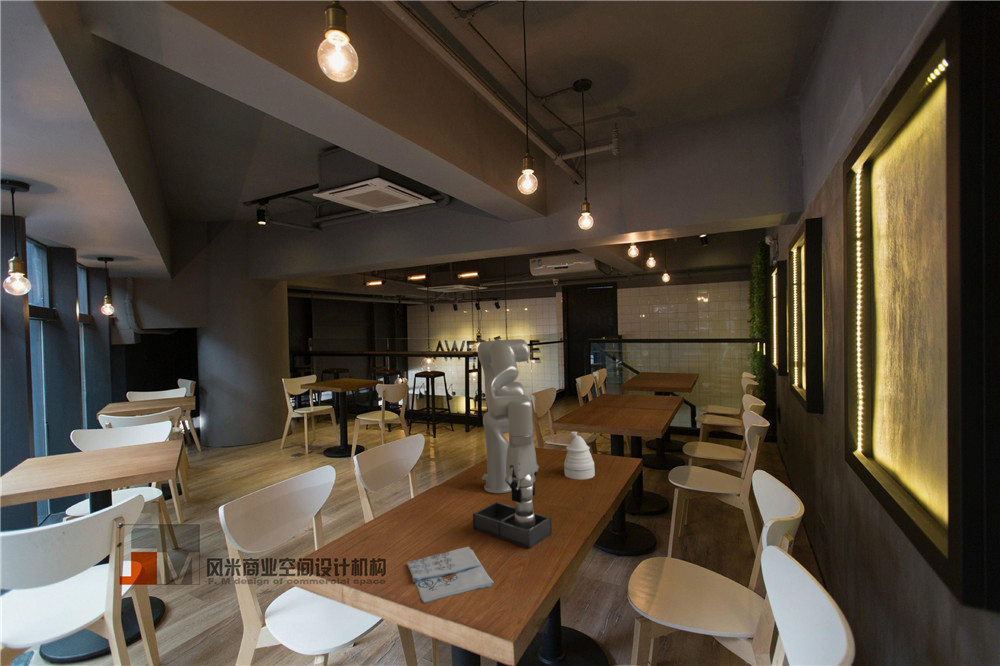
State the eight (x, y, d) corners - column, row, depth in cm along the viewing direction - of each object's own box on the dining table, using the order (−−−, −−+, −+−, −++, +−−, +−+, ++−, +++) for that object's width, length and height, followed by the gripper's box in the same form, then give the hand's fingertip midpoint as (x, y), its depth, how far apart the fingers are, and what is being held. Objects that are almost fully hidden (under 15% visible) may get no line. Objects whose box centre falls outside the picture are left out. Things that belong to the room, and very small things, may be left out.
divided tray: (473, 529, 142) (472, 513, 142) (497, 516, 151) (496, 501, 151) (529, 549, 127) (528, 531, 127) (551, 533, 136) (551, 517, 136)
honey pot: (558, 475, 190) (556, 433, 190) (575, 467, 199) (573, 428, 199) (584, 481, 181) (582, 437, 181) (600, 473, 191) (598, 431, 191)
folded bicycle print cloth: (472, 551, 128) (471, 544, 128) (495, 588, 109) (495, 580, 109) (406, 566, 122) (405, 558, 122) (418, 608, 103) (418, 599, 103)
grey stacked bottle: (538, 524, 138) (535, 461, 138) (532, 534, 131) (529, 467, 131) (518, 522, 140) (515, 459, 140) (511, 532, 134) (509, 466, 133)
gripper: (528, 432, 144) (530, 486, 145) (493, 444, 131) (496, 504, 131) (547, 435, 140) (549, 491, 140) (513, 447, 126) (515, 510, 127)
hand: (523, 497), depth 136 cm, fingers closed on grey stacked bottle, 6 cm apart
